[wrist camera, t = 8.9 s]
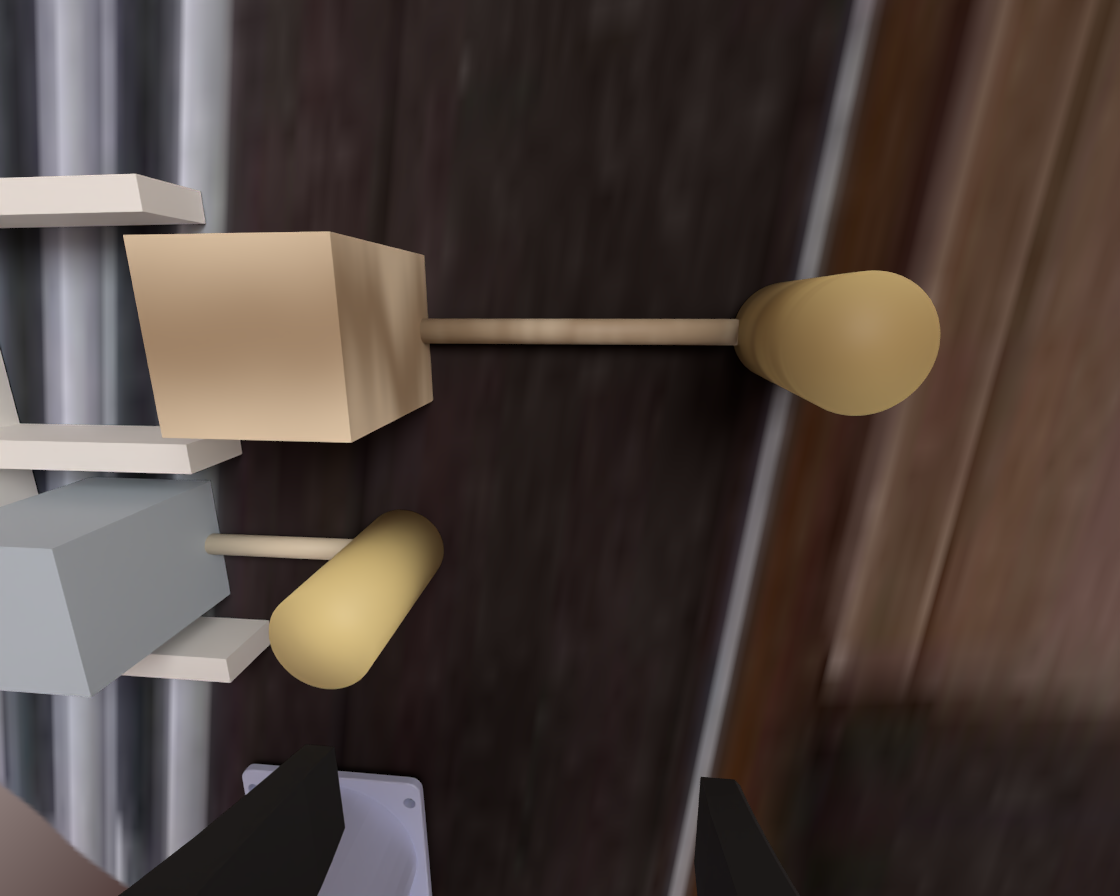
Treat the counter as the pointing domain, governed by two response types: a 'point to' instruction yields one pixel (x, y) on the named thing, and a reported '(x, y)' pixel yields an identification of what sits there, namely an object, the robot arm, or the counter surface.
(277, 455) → the counter surface
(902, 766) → the counter surface
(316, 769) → the robot arm
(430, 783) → the counter surface
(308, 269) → the beige long piece
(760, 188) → the counter surface
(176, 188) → the rack
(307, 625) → the grey handled block
